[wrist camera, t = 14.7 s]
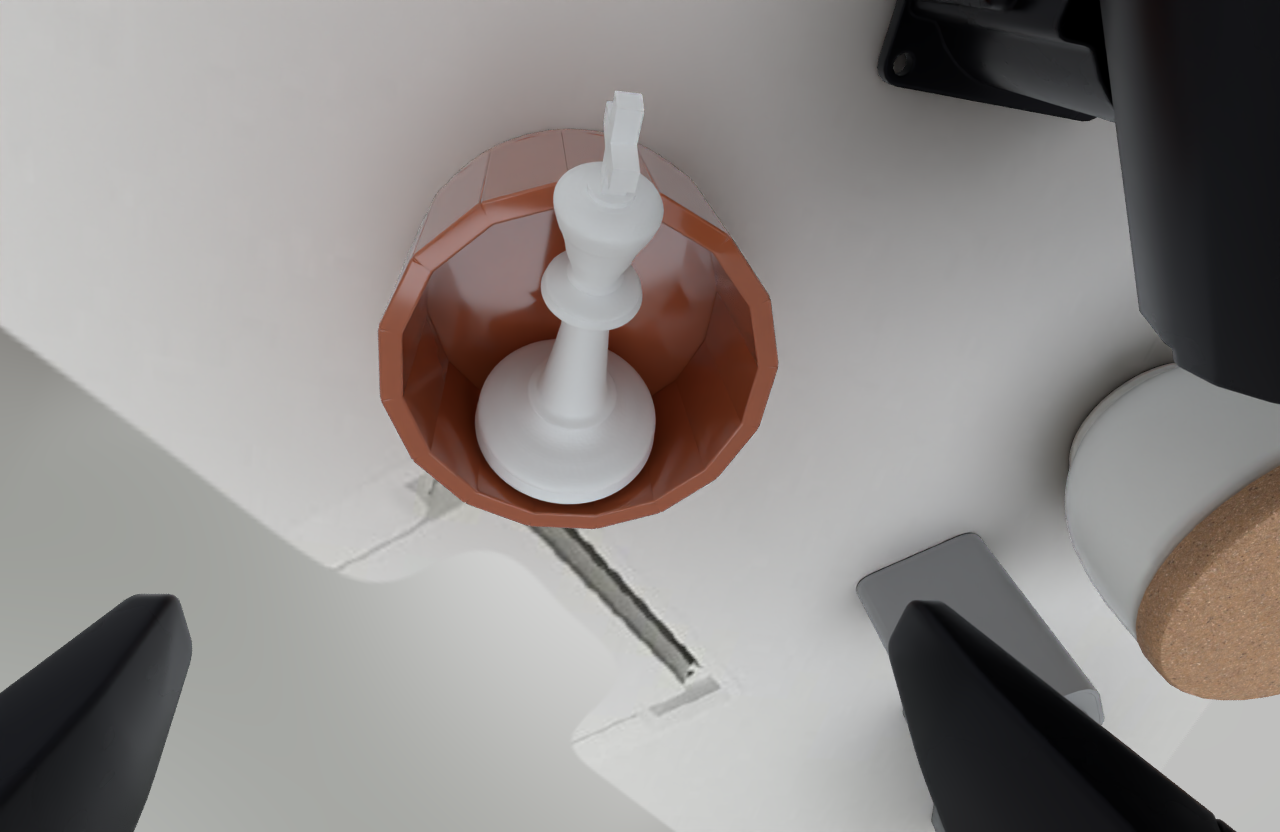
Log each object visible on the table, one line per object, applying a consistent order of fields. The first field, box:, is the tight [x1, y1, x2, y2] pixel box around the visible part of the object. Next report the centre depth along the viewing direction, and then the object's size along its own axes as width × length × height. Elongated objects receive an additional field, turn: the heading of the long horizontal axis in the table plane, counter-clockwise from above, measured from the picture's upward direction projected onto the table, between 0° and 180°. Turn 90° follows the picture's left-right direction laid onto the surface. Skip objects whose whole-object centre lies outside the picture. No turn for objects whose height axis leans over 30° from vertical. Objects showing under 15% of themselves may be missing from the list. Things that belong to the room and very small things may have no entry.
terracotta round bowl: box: [378, 129, 778, 529], centre depth 18 cm, size 9×9×5 cm
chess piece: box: [475, 91, 664, 504], centre depth 15 cm, size 5×5×10 cm
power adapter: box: [857, 533, 1104, 725], centre depth 24 cm, size 3×5×12 cm, turn 117°
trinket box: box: [1065, 363, 1280, 700], centre depth 22 cm, size 11×11×9 cm
